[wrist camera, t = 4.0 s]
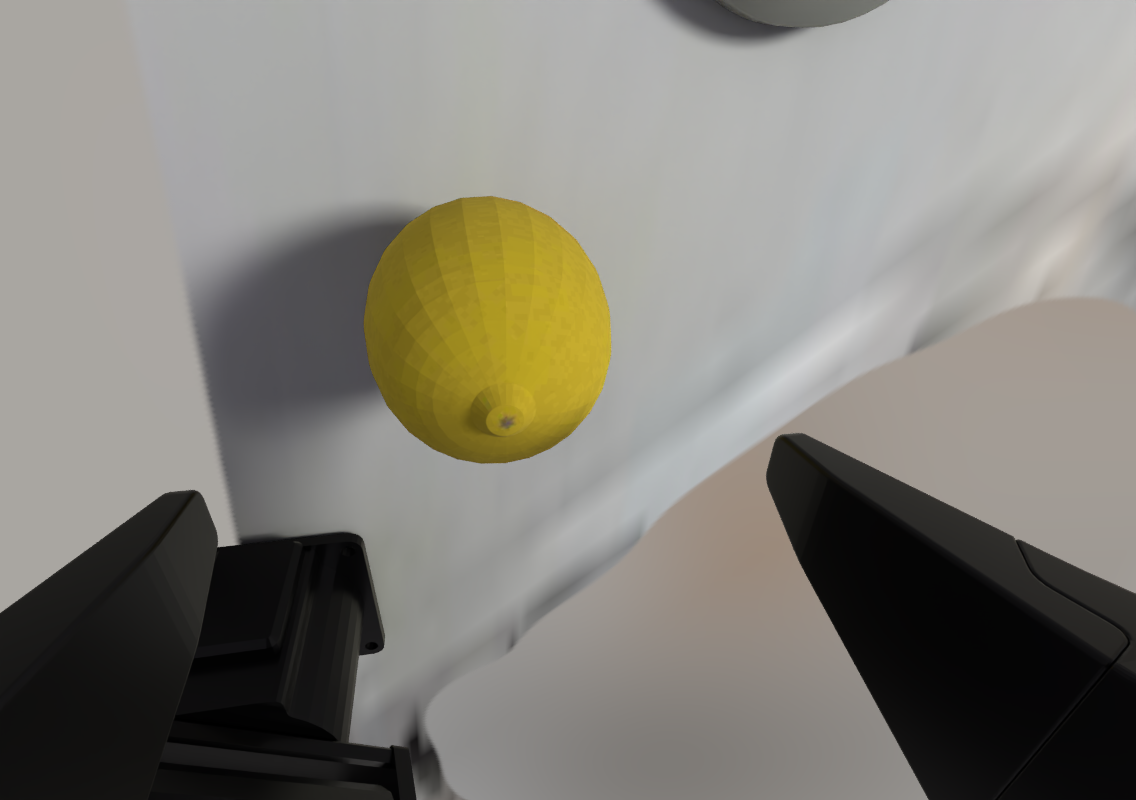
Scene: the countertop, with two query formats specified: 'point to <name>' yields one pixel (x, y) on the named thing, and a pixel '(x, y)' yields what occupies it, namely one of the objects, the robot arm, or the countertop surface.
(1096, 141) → the countertop surface
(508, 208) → the lemon
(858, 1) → the coaster
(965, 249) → the countertop surface
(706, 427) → the countertop surface
